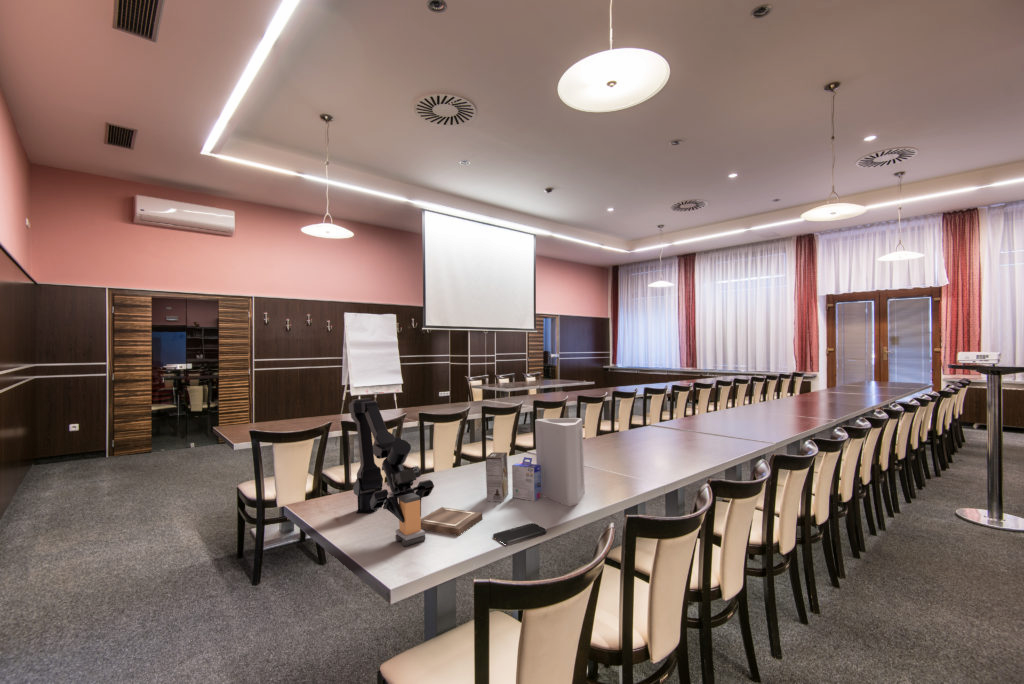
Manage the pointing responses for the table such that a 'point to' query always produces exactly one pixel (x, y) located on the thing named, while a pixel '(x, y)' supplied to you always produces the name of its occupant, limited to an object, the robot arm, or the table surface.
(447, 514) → the dock
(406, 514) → the grey-topped tan box
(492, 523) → the table surface
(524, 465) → the ink cartridge box
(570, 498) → the white triangular vase
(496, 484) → the coffee box
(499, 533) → the phone
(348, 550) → the table surface
